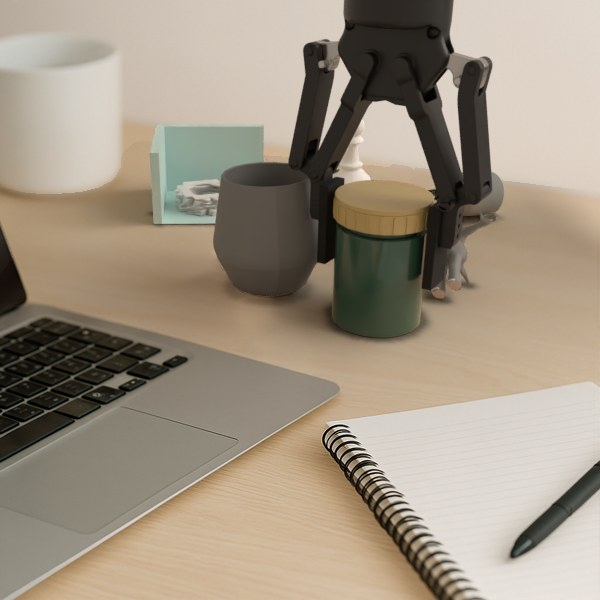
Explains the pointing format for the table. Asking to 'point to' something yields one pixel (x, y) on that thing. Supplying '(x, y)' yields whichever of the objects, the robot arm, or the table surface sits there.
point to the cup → (265, 228)
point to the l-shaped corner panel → (197, 167)
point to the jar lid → (382, 207)
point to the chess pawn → (353, 160)
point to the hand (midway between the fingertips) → (379, 270)
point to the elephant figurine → (459, 258)
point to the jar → (377, 282)
